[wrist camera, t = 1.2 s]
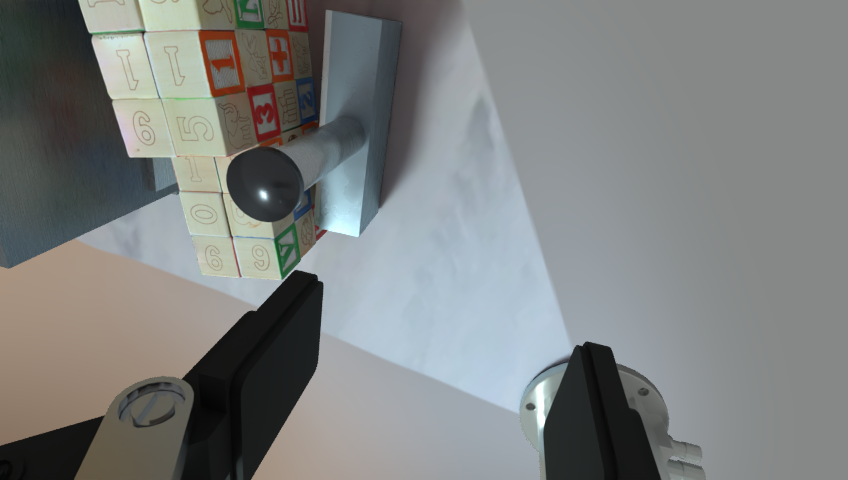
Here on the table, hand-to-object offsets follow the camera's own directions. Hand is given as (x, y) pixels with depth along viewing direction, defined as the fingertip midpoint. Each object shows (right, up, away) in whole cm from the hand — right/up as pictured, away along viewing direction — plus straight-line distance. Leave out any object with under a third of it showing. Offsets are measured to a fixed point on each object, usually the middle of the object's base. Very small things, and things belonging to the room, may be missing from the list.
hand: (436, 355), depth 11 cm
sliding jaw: (-4, +12, +22) cm, 25 cm away
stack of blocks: (-11, +14, +23) cm, 29 cm away
